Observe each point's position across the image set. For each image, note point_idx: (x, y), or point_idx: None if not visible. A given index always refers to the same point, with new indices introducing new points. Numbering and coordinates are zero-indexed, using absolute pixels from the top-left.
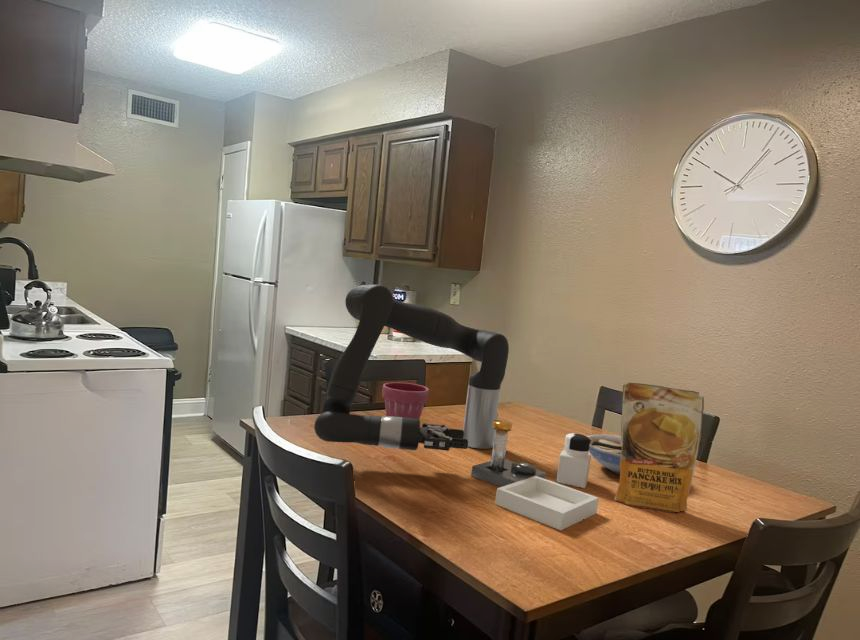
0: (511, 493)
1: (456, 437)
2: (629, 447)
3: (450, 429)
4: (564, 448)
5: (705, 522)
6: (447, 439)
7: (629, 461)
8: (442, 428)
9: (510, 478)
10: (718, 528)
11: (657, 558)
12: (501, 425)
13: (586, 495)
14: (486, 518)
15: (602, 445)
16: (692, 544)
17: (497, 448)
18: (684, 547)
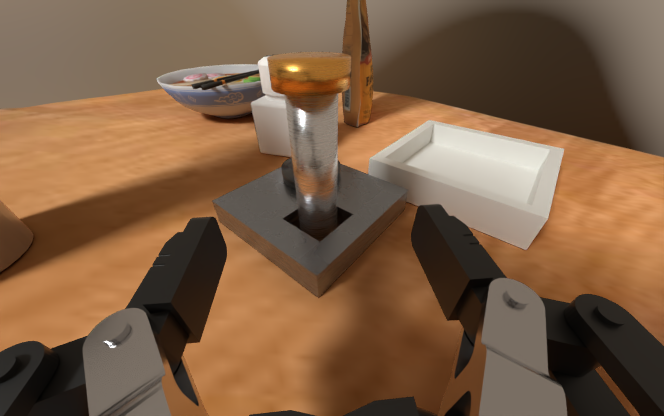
0: (550, 196)
1: (216, 281)
2: (362, 38)
3: (174, 294)
4: (282, 94)
5: (381, 100)
6: (622, 319)
7: (365, 62)
8: (168, 381)
9: (389, 197)
10: (392, 98)
11: (526, 127)
12: (350, 62)
13: (430, 126)
14: (657, 273)
15: (235, 78)
16: (453, 110)
17: (336, 161)
18: (468, 114)
